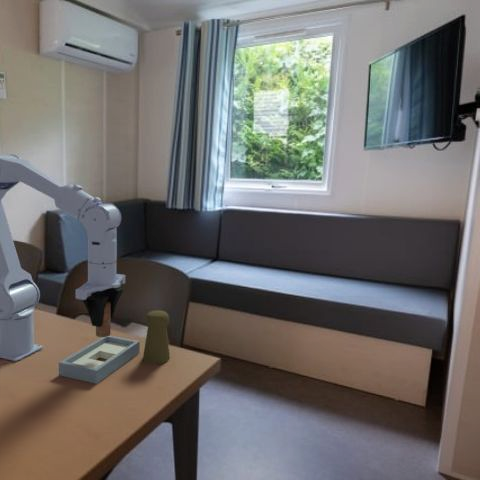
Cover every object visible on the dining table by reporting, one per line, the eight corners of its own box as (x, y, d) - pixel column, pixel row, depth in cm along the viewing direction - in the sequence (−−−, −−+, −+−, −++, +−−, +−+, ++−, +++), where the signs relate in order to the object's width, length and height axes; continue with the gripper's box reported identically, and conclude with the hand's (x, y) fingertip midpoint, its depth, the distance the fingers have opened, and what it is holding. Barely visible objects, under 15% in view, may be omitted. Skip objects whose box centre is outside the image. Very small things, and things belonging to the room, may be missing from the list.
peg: (103, 338, 88) (103, 306, 87) (92, 335, 89) (92, 303, 88) (113, 333, 91) (113, 302, 90) (102, 330, 92) (102, 300, 91)
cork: (164, 365, 92) (165, 318, 90) (138, 362, 93) (139, 314, 91) (173, 354, 98) (175, 309, 96) (149, 351, 99) (150, 306, 97)
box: (59, 375, 85) (58, 362, 85) (106, 345, 100) (106, 334, 100) (96, 383, 82) (96, 370, 82) (139, 352, 98) (139, 341, 97)
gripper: (96, 270, 80) (97, 338, 82) (137, 257, 93) (136, 315, 96) (66, 266, 82) (67, 332, 84) (110, 254, 96) (110, 311, 98)
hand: (102, 323), depth 90 cm, fingers closed on peg, 3 cm apart
